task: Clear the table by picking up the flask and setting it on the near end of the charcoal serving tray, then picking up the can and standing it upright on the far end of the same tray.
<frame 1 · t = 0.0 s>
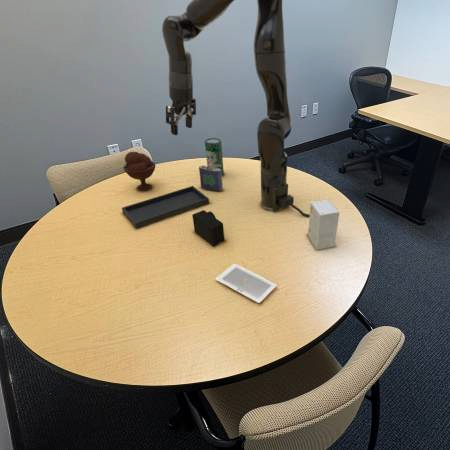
hand: (182, 130, 121), 22 cm above the table, tool pointing down, fingers open, 8 cm apart
tray: (167, 208, 119), on the table
ice cream bowl: (144, 188, 130), on the table
small box: (320, 241, 109), on the table
flask: (211, 189, 133), on the table
touchpad: (246, 285, 91), on the table
can: (216, 174, 143), on the table
digital camera: (211, 236, 108), on the table
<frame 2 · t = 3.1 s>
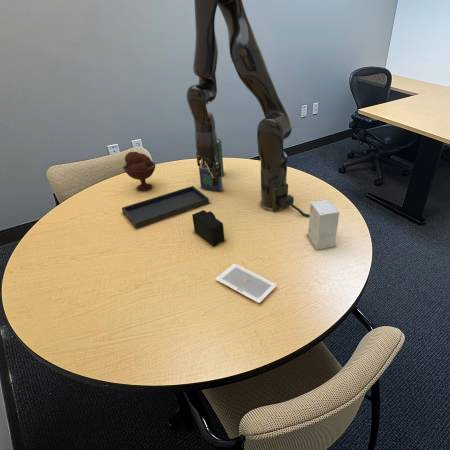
hand: (210, 181, 131), 3 cm above the table, tool pointing down, fingers closed on flask, 7 cm apart
flask: (211, 189, 133), on the table, touching gripper
everything else where it was.
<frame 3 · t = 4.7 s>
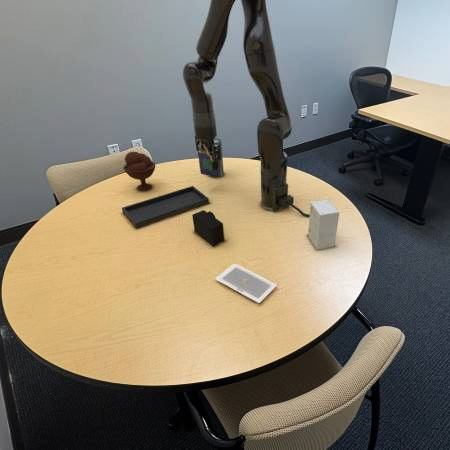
hand: (209, 166, 127), 10 cm above the table, tool pointing down, fingers closed on flask, 7 cm apart
flask: (211, 174, 129), point 6 cm above the table, touching gripper
everything else where it was.
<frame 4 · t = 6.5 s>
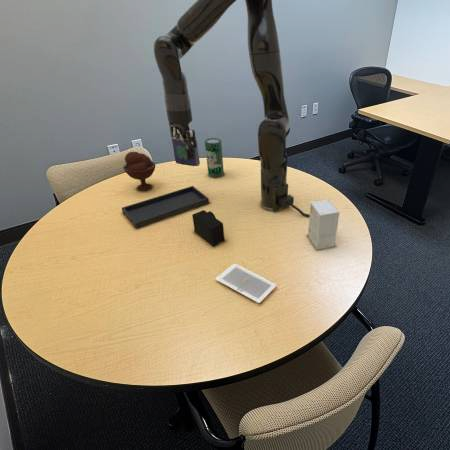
hand: (185, 154, 116), 18 cm above the table, tool pointing down, fingers closed on flask, 7 cm apart
flask: (187, 164, 117), point 14 cm above the table, touching gripper
everything else where it was.
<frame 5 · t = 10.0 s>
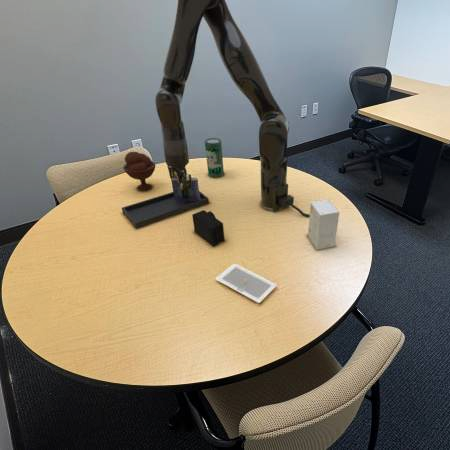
hand: (182, 194, 121), 3 cm above the table, tool pointing down, fingers closed on flask, 5 cm apart
flask: (187, 200, 123), resting on tray, touching gripper
everything else where it was.
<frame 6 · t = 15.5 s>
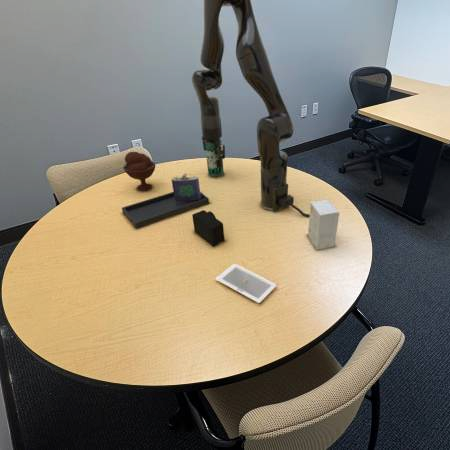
hand: (215, 164, 140), 5 cm above the table, tool pointing down, fingers closed on can, 6 cm apart
flask: (188, 200, 123), resting on tray
can: (216, 174, 143), on the table, touching gripper
everything else where it was.
when the fingers open (5 cm above the table, at t = 24.6 s): can stays where it is, resting on tray.
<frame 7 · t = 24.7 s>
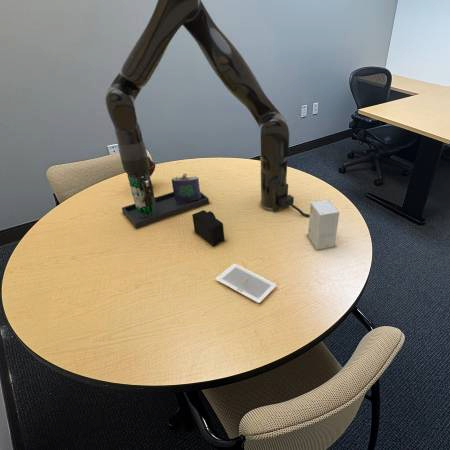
hand: (145, 201, 112), 5 cm above the table, tool pointing down, fingers open, 6 cm apart
can: (148, 213, 115), resting on tray
everything else where it was.
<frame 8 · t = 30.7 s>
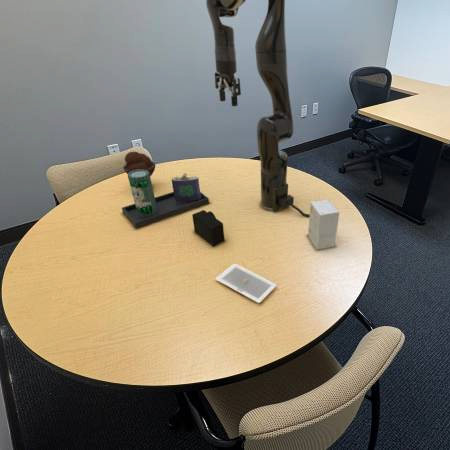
hand: (228, 103, 133), 28 cm above the table, tool pointing down, fingers open, 8 cm apart
nothing on the table moved.
at the end: flask inside the target area in the tray (7.8 cm from its centre), point 0.4 cm above the tray's base; can inside the target area in the tray (6.9 cm from its centre), point 0.4 cm above the tray's base; can tilted 0° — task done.
